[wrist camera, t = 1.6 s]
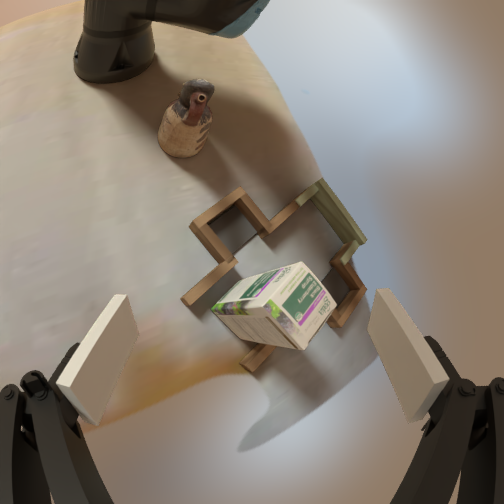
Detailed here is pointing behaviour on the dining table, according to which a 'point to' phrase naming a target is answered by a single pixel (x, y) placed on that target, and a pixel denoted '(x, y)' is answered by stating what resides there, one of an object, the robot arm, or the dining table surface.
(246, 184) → the dining table surface
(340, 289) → the channel
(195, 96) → the figurine
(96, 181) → the dining table surface
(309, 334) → the syrup box
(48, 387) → the robot arm
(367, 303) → the dining table surface
